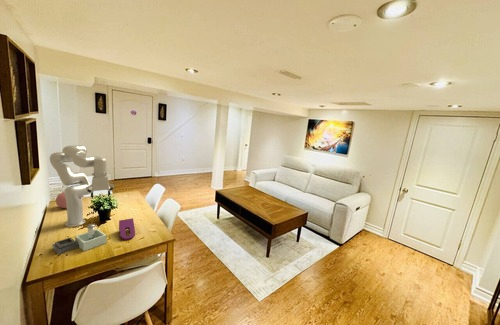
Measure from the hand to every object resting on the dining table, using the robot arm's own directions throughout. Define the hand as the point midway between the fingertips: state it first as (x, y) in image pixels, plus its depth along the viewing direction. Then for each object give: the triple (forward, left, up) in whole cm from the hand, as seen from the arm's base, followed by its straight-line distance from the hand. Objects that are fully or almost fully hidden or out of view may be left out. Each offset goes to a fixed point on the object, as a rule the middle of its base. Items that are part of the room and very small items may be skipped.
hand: (100, 197), depth 151 cm
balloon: (-71, +4, -28) cm, 77 cm away
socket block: (+5, -23, -28) cm, 37 cm away
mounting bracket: (+17, +10, -29) cm, 35 cm away
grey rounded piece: (+11, -11, -28) cm, 32 cm away
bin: (+11, -11, -28) cm, 32 cm away
